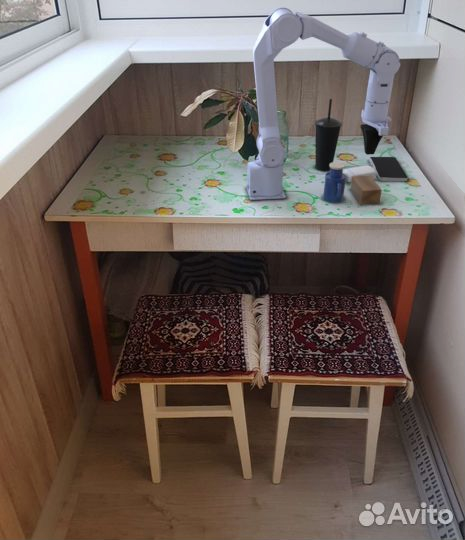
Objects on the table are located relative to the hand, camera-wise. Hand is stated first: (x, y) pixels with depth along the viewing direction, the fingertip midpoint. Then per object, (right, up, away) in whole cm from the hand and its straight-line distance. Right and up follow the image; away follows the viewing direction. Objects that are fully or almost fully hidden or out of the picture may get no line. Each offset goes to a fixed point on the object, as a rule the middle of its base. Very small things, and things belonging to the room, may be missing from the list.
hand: (369, 153), depth 131 cm
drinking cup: (-9, 0, +19) cm, 20 cm away
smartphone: (+10, -1, +17) cm, 19 cm away
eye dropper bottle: (+4, -2, +12) cm, 12 cm away
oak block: (-1, -11, +2) cm, 11 cm away
